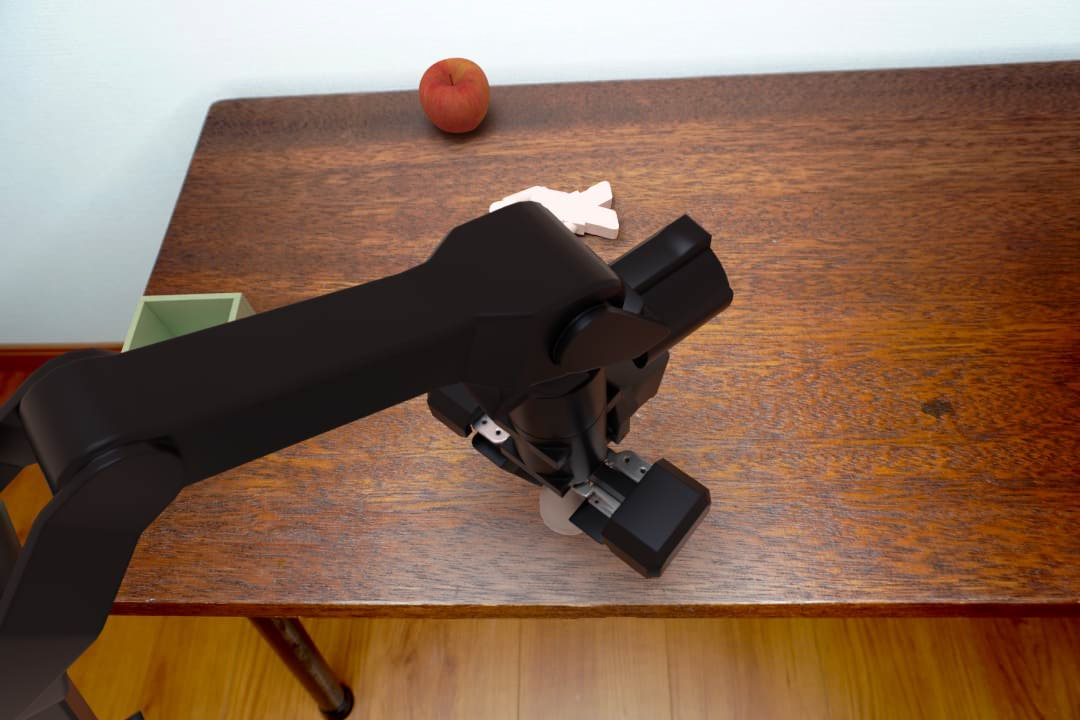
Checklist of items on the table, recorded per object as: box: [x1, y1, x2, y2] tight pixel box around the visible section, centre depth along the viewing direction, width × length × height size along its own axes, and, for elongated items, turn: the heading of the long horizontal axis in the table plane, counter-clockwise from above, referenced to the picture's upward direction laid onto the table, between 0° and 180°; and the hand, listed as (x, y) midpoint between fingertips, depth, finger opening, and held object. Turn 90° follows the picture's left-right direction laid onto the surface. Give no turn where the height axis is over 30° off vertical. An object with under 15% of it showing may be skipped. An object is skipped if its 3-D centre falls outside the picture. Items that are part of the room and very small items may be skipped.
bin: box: [120, 292, 257, 353], centre depth 71 cm, size 11×9×7 cm
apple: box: [418, 57, 491, 134], centre depth 85 cm, size 7×7×8 cm
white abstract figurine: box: [488, 180, 620, 240], centre depth 79 cm, size 9×12×2 cm
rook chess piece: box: [539, 480, 593, 536], centre depth 57 cm, size 4×4×8 cm
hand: (569, 499), depth 58 cm, fingers closed on rook chess piece, 4 cm apart
